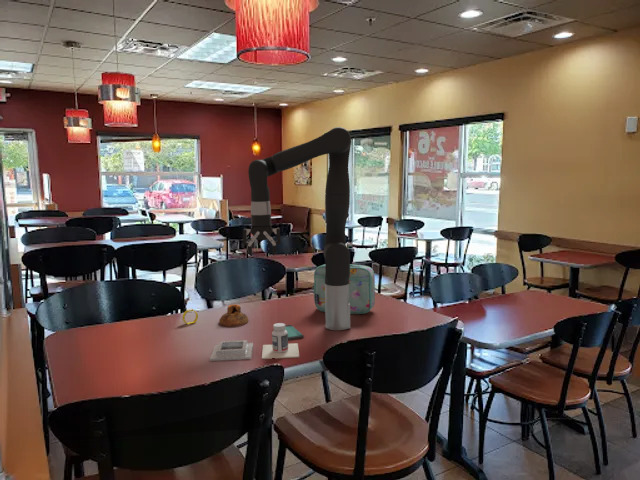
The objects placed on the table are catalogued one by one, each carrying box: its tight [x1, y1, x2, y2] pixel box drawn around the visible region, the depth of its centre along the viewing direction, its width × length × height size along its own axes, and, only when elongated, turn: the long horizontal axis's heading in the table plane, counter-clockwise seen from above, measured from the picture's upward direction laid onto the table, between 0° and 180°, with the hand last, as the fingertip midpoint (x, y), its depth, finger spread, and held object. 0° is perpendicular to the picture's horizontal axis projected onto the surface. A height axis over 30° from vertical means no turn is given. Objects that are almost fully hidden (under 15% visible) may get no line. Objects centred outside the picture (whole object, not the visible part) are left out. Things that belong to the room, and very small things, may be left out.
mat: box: [261, 342, 300, 360], centre depth 162 cm, size 12×12×1 cm
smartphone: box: [285, 324, 305, 341], centre depth 180 cm, size 7×1×15 cm
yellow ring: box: [182, 307, 199, 325], centre depth 194 cm, size 6×3×6 cm, turn 127°
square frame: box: [209, 339, 254, 362], centre depth 162 cm, size 13×13×2 cm
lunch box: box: [311, 263, 376, 315], centre depth 206 cm, size 27×10×21 cm, turn 73°
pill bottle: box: [271, 322, 289, 353], centre depth 161 cm, size 5×5×9 cm
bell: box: [218, 304, 249, 328], centre depth 195 cm, size 12×12×7 cm
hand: (262, 255), depth 185 cm, fingers open, 8 cm apart
